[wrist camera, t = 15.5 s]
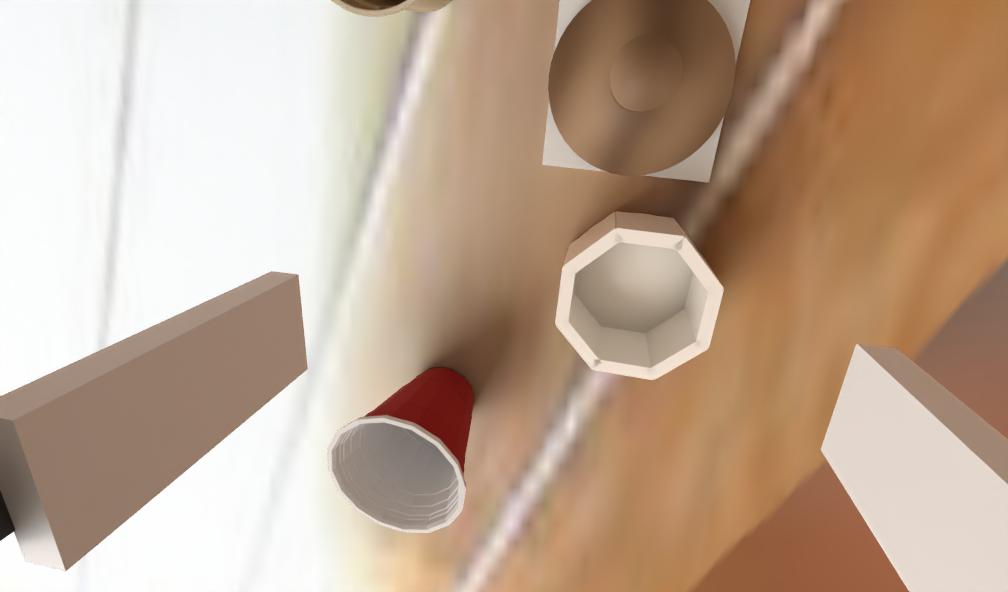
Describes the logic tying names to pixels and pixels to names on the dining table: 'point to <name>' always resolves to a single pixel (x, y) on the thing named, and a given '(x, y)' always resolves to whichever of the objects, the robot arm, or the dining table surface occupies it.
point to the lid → (641, 82)
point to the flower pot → (389, 6)
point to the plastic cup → (408, 454)
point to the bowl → (637, 296)
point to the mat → (697, 167)
